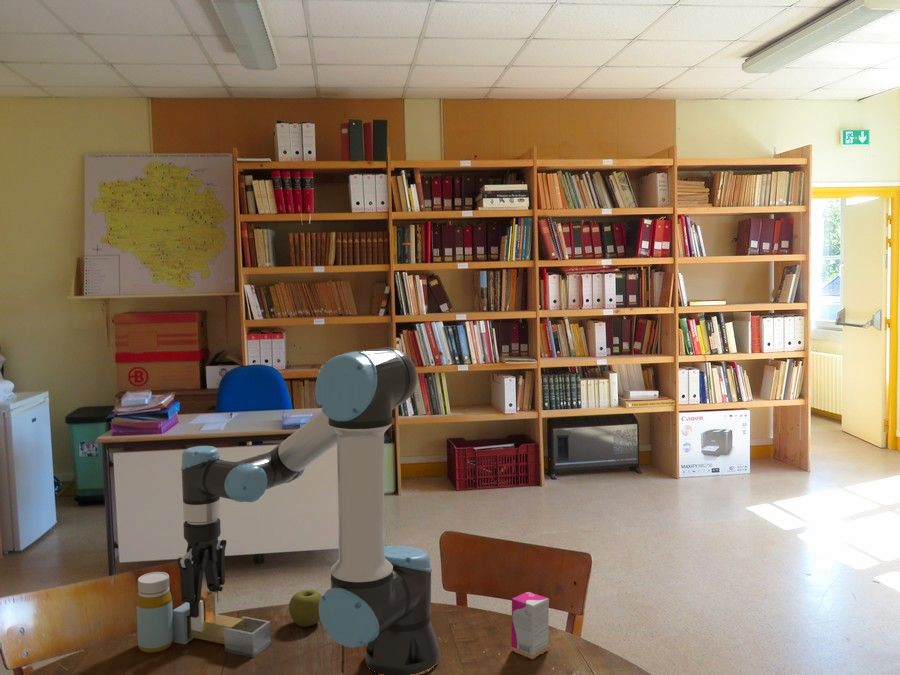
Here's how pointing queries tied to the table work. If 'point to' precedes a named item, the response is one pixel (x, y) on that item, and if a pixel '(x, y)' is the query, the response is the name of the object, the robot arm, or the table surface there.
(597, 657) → the table surface
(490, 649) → the table surface
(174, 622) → the socket block
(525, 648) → the supplement box
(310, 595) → the apple
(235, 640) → the sleeve
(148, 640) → the bottle
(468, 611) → the table surface
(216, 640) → the yellow orange l-shaped block
